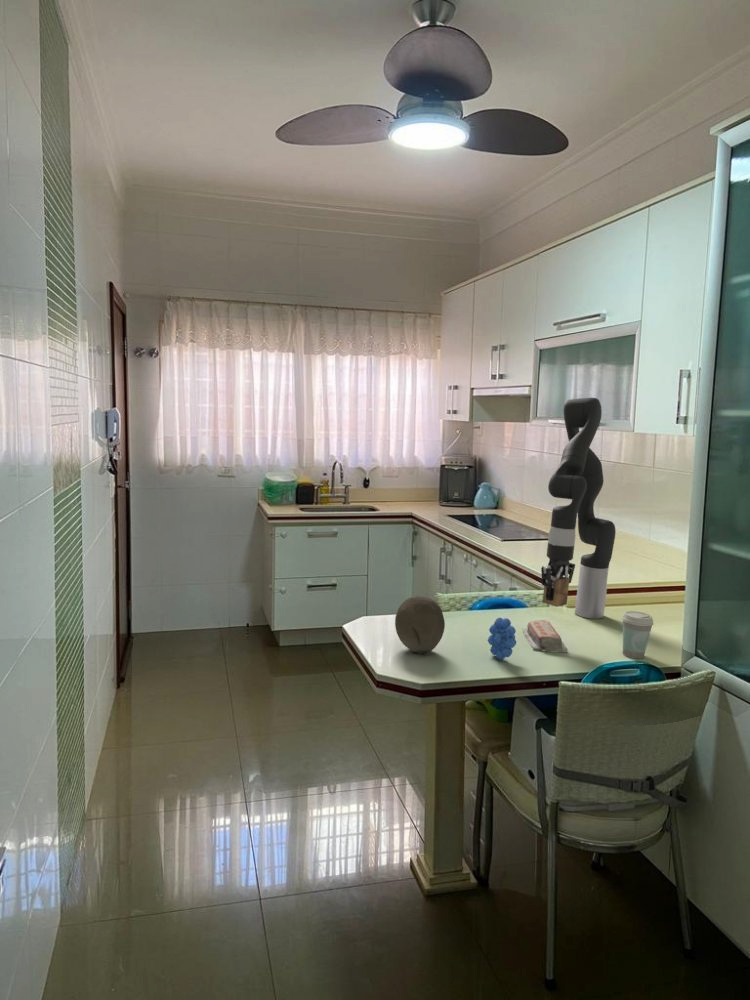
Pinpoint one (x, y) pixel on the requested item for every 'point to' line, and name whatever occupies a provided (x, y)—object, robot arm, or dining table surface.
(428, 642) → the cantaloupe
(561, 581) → the walnut block
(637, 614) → the coffee cup
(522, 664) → the dining table surface
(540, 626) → the packaged product
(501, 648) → the grapes
